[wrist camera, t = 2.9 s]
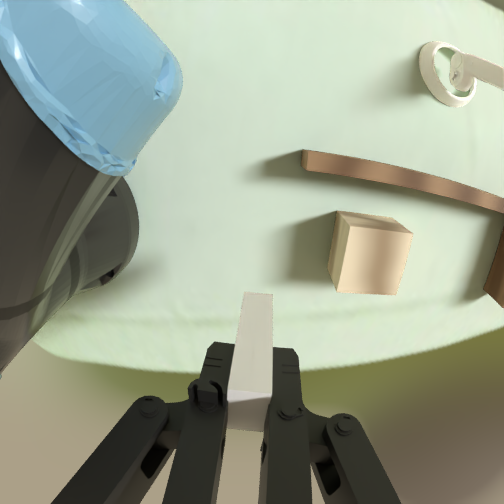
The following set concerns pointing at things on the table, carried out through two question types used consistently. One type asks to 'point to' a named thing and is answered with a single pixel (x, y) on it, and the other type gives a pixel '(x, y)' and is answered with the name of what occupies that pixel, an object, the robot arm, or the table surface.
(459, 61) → the hook
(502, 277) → the guide rail
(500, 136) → the table surface
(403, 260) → the beige wooden block
